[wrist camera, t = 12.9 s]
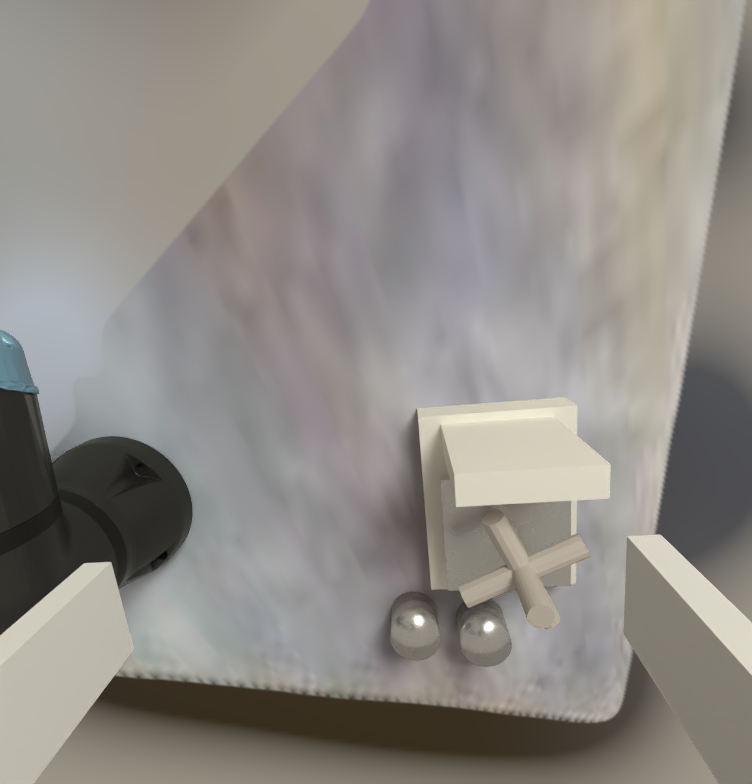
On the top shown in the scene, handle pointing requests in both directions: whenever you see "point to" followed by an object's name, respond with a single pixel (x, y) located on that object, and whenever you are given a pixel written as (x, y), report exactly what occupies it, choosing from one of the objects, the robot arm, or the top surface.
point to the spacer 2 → (483, 633)
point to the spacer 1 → (415, 626)
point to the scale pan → (477, 551)
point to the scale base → (504, 462)
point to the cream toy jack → (522, 571)
